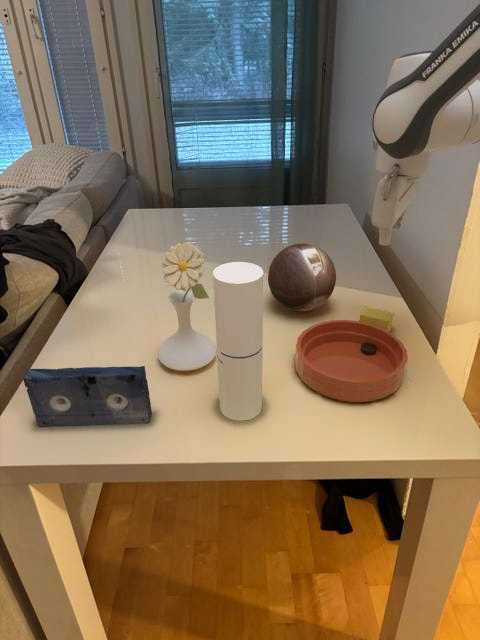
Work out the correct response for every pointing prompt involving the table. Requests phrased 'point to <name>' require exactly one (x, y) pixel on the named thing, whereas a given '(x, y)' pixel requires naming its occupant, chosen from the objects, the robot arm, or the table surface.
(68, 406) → the vhs cassette tape
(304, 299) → the wooden sphere
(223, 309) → the cylindrical container
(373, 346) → the dark grey flat disc
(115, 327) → the table surface
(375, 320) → the sponge
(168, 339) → the flower in vase
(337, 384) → the bowl
